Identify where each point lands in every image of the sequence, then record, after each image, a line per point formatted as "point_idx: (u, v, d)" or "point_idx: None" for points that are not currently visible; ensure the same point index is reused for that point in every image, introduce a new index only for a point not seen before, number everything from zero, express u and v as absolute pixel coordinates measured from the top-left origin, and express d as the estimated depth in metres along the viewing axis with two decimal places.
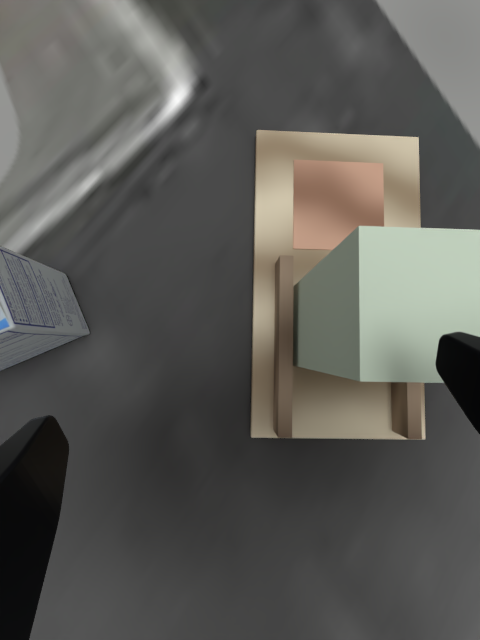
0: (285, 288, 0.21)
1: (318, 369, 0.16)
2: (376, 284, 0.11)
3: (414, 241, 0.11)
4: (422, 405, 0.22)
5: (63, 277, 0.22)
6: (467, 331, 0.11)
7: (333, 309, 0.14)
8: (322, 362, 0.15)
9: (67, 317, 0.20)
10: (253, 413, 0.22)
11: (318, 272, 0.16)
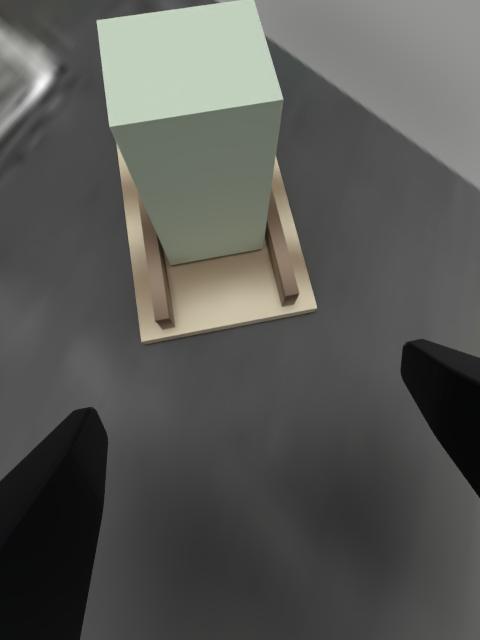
0: None
1: (146, 209, 0.17)
2: (117, 56, 0.13)
3: (147, 22, 0.13)
4: (306, 278, 0.23)
5: None
6: (204, 74, 0.12)
7: None
8: None
9: None
10: (140, 318, 0.22)
11: None
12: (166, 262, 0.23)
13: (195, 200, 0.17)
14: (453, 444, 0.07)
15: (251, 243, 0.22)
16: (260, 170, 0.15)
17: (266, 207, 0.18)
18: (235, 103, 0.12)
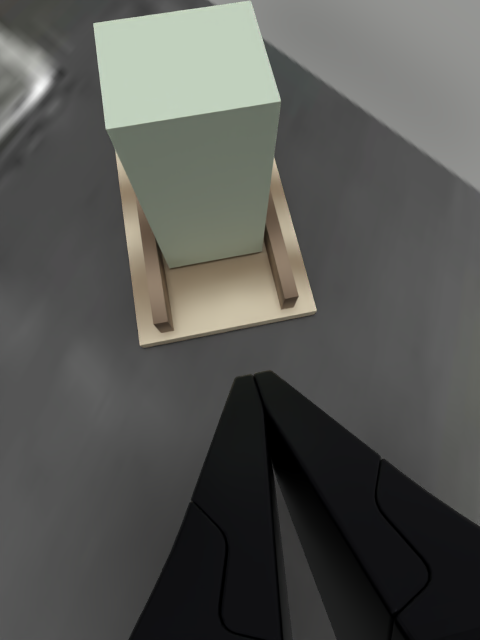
0: None
1: (144, 212, 0.17)
2: (113, 58, 0.13)
3: (143, 25, 0.13)
4: (305, 280, 0.22)
5: None
6: (201, 76, 0.12)
7: None
8: None
9: None
10: (138, 321, 0.22)
11: None
12: (165, 265, 0.23)
13: (193, 202, 0.16)
14: (281, 483, 0.07)
15: (250, 246, 0.22)
16: (258, 173, 0.15)
17: (265, 209, 0.18)
18: (232, 105, 0.12)
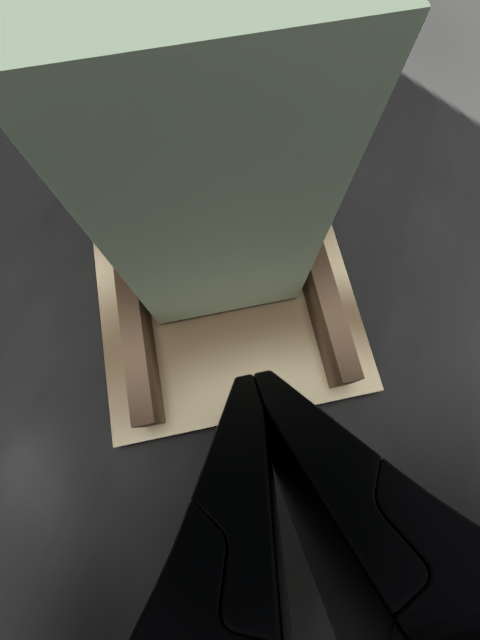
0: None
1: None
2: None
3: None
4: (364, 342, 0.15)
5: None
6: None
7: None
8: None
9: None
10: (111, 408, 0.14)
11: None
12: (153, 318, 0.15)
13: (197, 239, 0.09)
14: (281, 483, 0.07)
15: (282, 292, 0.14)
16: (324, 186, 0.08)
17: (318, 245, 0.11)
18: (305, 17, 0.05)
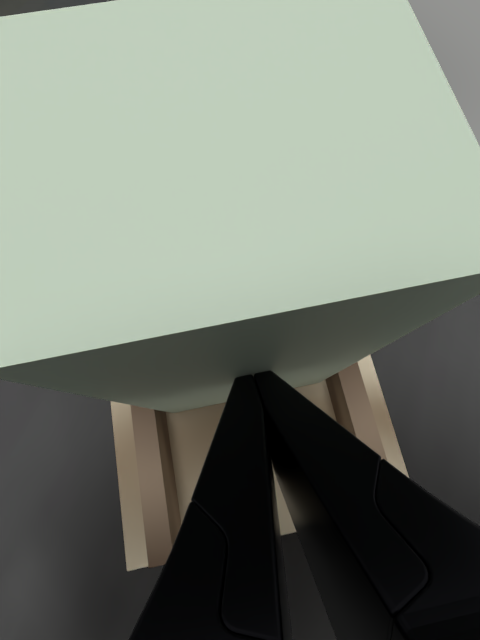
0: None
1: None
2: (19, 121, 0.04)
3: (111, 24, 0.05)
4: (395, 447, 0.14)
5: None
6: (276, 177, 0.04)
7: None
8: None
9: None
10: (125, 525, 0.13)
11: None
12: (168, 420, 0.14)
13: (225, 382, 0.08)
14: (280, 483, 0.07)
15: (304, 383, 0.13)
16: (370, 344, 0.07)
17: (350, 364, 0.10)
18: (385, 279, 0.04)
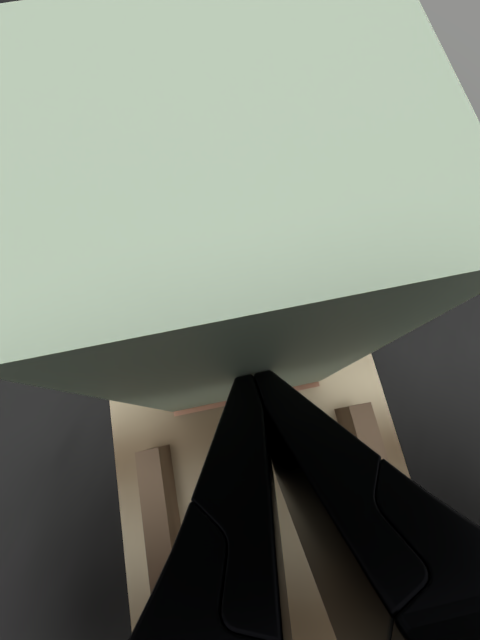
0: (152, 514, 0.11)
1: None
2: (13, 112, 0.04)
3: (107, 12, 0.05)
4: None
5: None
6: (277, 169, 0.04)
7: None
8: None
9: None
10: None
11: None
12: None
13: (225, 380, 0.08)
14: (280, 483, 0.07)
15: (304, 382, 0.13)
16: (372, 342, 0.07)
17: (351, 362, 0.10)
18: (391, 274, 0.04)
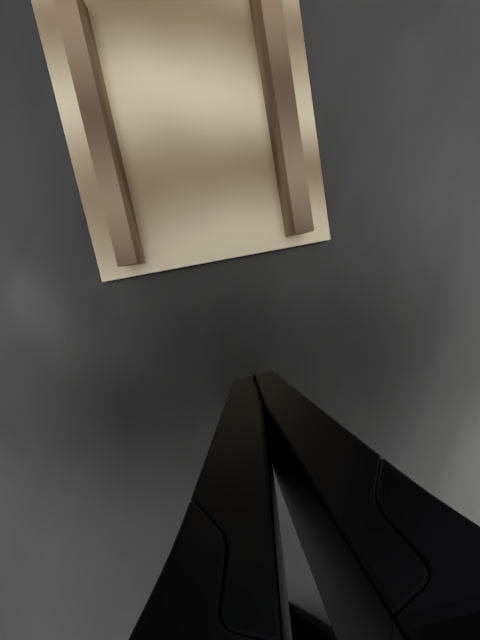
0: (70, 33, 0.13)
1: None
2: None
3: None
4: (321, 195, 0.17)
5: None
6: None
7: None
8: None
9: None
10: (96, 249, 0.16)
11: None
12: (124, 163, 0.16)
13: None
14: (281, 483, 0.07)
15: None
16: None
17: None
18: None
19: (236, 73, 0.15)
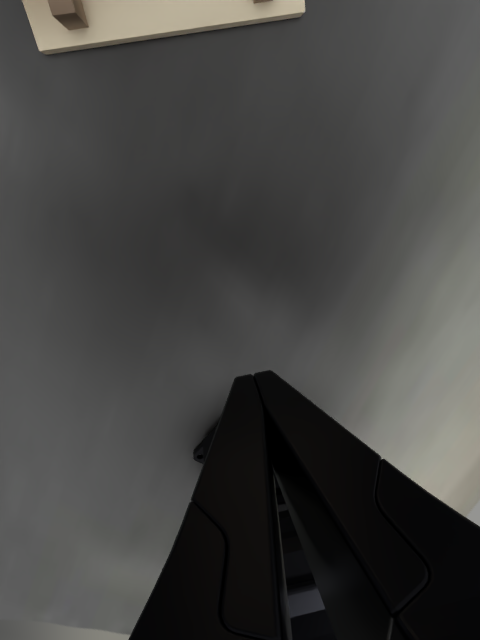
0: None
1: None
2: None
3: None
4: None
5: None
6: None
7: None
8: None
9: None
10: (25, 2, 0.13)
11: None
12: None
13: None
14: (281, 483, 0.07)
15: None
16: None
17: None
18: None
19: None
